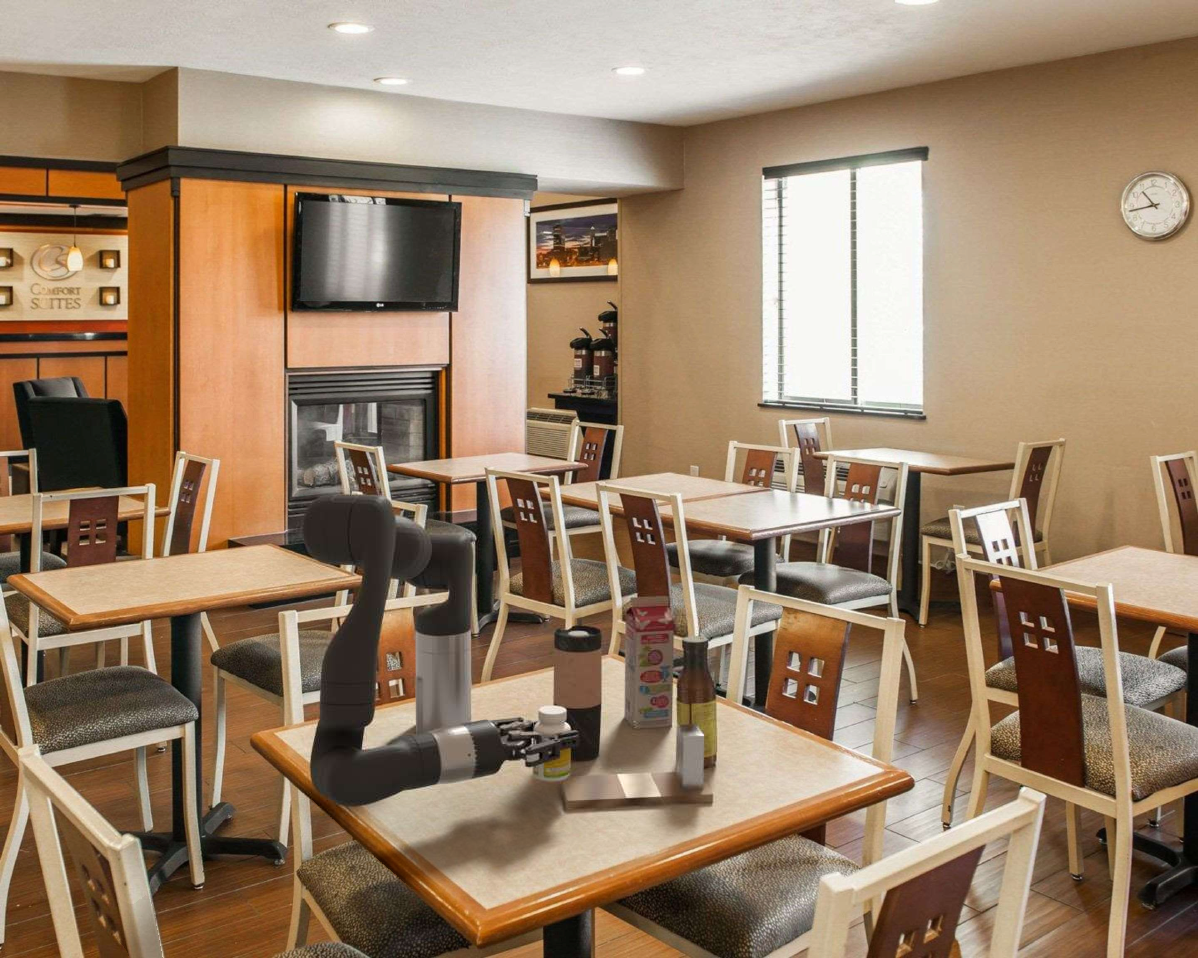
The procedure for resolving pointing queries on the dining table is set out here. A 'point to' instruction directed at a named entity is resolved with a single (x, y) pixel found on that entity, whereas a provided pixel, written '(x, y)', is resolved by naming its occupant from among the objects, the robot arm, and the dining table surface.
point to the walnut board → (629, 790)
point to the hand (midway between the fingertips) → (567, 731)
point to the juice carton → (649, 663)
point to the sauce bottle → (698, 695)
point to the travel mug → (580, 685)
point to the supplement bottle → (549, 724)
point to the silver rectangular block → (689, 756)
